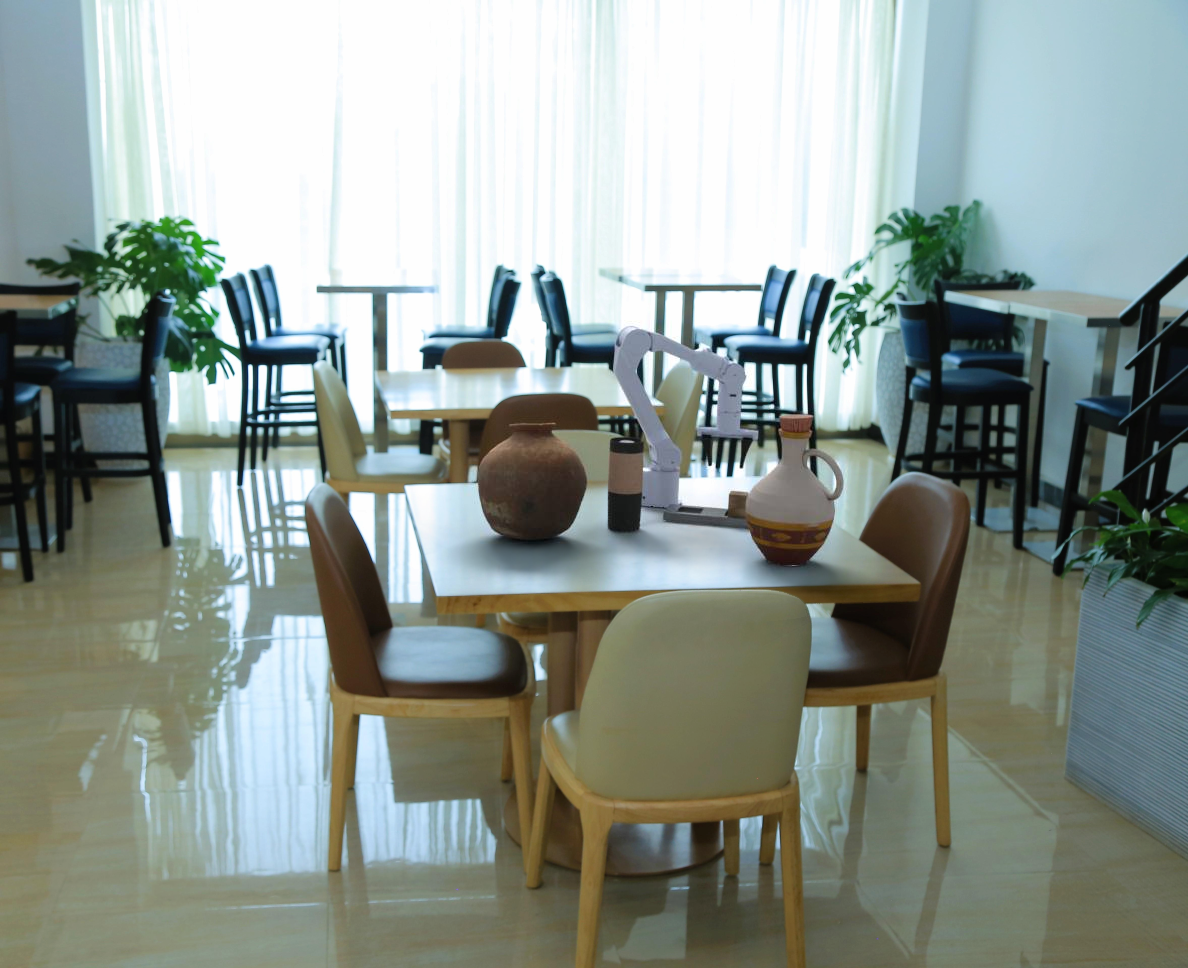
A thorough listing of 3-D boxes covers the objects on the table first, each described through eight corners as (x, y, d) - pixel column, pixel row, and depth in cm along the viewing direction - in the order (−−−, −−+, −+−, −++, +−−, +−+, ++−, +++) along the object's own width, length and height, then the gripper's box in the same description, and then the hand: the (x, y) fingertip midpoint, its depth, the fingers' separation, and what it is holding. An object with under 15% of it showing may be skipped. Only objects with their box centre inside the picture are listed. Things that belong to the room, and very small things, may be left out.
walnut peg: (727, 524, 272) (728, 494, 270) (729, 520, 275) (731, 490, 274) (744, 525, 271) (746, 495, 269) (746, 521, 274) (748, 492, 273)
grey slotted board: (663, 520, 272) (663, 512, 272) (669, 512, 281) (670, 504, 281) (759, 529, 268) (759, 520, 267) (763, 520, 276) (763, 511, 276)
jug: (851, 560, 244) (862, 415, 238) (821, 579, 229) (832, 426, 223) (762, 545, 254) (771, 405, 247) (728, 563, 239) (736, 415, 232)
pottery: (538, 557, 238) (541, 434, 233) (454, 537, 251) (455, 420, 246) (606, 537, 256) (610, 422, 251) (524, 519, 269) (526, 410, 264)
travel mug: (600, 529, 262) (603, 440, 258) (615, 522, 269) (619, 435, 265) (631, 534, 259) (635, 444, 255) (646, 527, 266) (650, 439, 262)
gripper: (696, 411, 285) (693, 467, 287) (757, 415, 281) (753, 471, 284) (700, 407, 291) (698, 462, 294) (760, 411, 288) (756, 466, 291)
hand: (725, 466), depth 290 cm, fingers open, 7 cm apart
